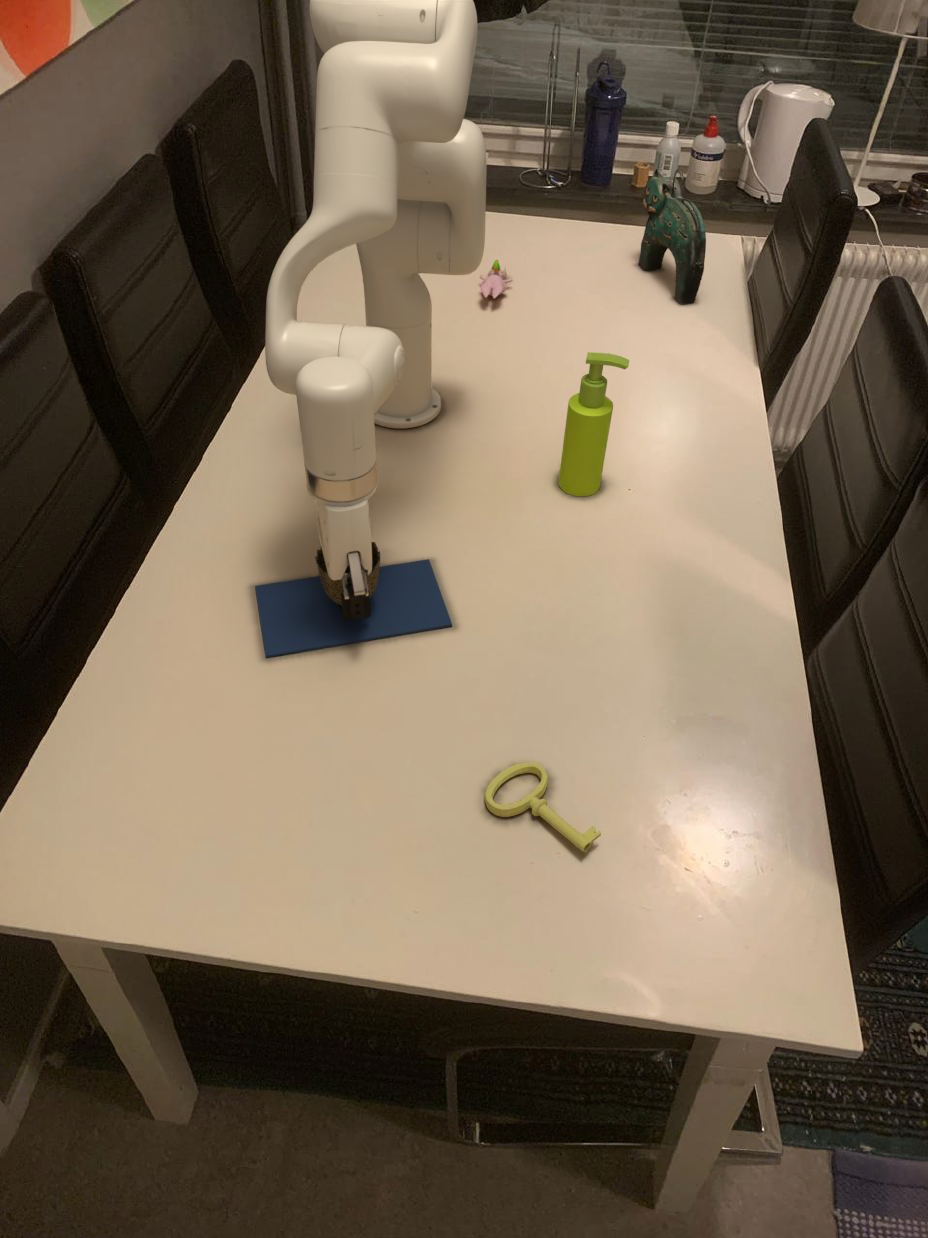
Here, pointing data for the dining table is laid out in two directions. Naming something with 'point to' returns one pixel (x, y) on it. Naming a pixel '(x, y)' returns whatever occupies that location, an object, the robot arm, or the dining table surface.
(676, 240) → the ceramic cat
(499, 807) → the key
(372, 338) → the robot arm
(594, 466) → the soap dispenser
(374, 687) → the dining table surface
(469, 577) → the dining table surface
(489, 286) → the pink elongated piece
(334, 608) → the cloth
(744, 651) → the dining table surface
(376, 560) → the dark brown rounded piece
